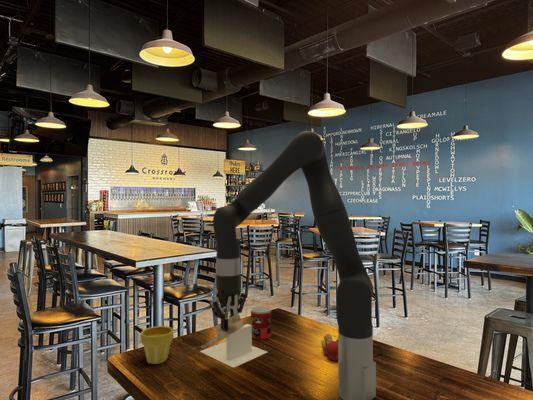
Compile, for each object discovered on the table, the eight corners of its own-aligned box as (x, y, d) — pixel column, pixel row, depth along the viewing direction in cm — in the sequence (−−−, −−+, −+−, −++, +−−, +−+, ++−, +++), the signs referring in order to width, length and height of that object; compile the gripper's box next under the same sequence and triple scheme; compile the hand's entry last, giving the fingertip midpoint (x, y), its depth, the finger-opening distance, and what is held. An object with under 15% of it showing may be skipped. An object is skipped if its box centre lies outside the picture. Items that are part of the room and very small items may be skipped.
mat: (267, 353, 127) (267, 351, 127) (233, 369, 116) (233, 367, 116) (233, 339, 140) (233, 338, 140) (199, 352, 128) (199, 351, 128)
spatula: (249, 324, 109) (244, 312, 110) (231, 331, 104) (226, 318, 105) (218, 341, 119) (214, 329, 120) (201, 348, 113) (197, 335, 115)
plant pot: (158, 350, 130) (158, 323, 130) (179, 357, 124) (179, 328, 124) (134, 362, 121) (134, 332, 121) (156, 369, 116) (156, 339, 115)
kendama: (315, 345, 137) (322, 360, 119) (318, 328, 138) (325, 340, 120) (335, 349, 137) (346, 364, 119) (338, 332, 138) (348, 344, 120)
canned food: (248, 335, 144) (248, 307, 144) (266, 332, 147) (266, 305, 147) (255, 342, 137) (255, 313, 137) (274, 339, 140) (274, 310, 140)
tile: (251, 350, 128) (251, 325, 128) (230, 359, 121) (230, 332, 121) (247, 348, 130) (247, 323, 130) (226, 357, 123) (226, 331, 123)
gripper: (218, 278, 102) (218, 339, 102) (253, 270, 112) (254, 326, 112) (202, 274, 107) (202, 332, 107) (237, 267, 117) (237, 321, 117)
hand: (228, 329), depth 110 cm, fingers closed on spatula, 2 cm apart
